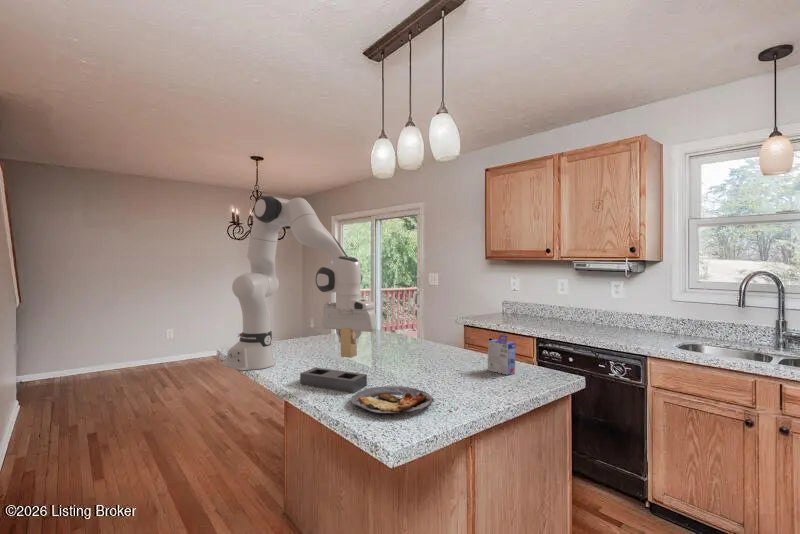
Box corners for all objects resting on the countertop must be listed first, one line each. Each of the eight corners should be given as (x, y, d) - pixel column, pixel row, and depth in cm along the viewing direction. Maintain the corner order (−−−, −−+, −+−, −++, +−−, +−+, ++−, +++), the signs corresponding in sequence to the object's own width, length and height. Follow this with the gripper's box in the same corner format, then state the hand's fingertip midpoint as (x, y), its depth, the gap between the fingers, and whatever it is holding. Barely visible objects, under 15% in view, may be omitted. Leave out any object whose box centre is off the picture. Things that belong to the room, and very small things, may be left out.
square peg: (340, 356, 140) (340, 327, 140) (347, 354, 144) (346, 326, 143) (350, 357, 138) (350, 328, 138) (356, 355, 142) (356, 326, 142)
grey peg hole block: (300, 384, 144) (300, 373, 144) (315, 377, 152) (315, 367, 152) (353, 393, 135) (353, 381, 135) (366, 385, 143) (366, 374, 143)
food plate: (448, 404, 124) (448, 393, 124) (393, 427, 108) (393, 414, 108) (392, 388, 142) (392, 378, 142) (337, 405, 126) (337, 394, 126)
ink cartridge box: (516, 373, 160) (516, 336, 160) (508, 375, 156) (508, 338, 156) (495, 368, 167) (495, 333, 167) (487, 370, 164) (487, 334, 163)
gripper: (318, 302, 142) (318, 342, 142) (369, 305, 134) (369, 346, 134) (328, 301, 148) (328, 339, 148) (378, 303, 139) (378, 343, 140)
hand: (348, 342), depth 141 cm, fingers closed on square peg, 4 cm apart
